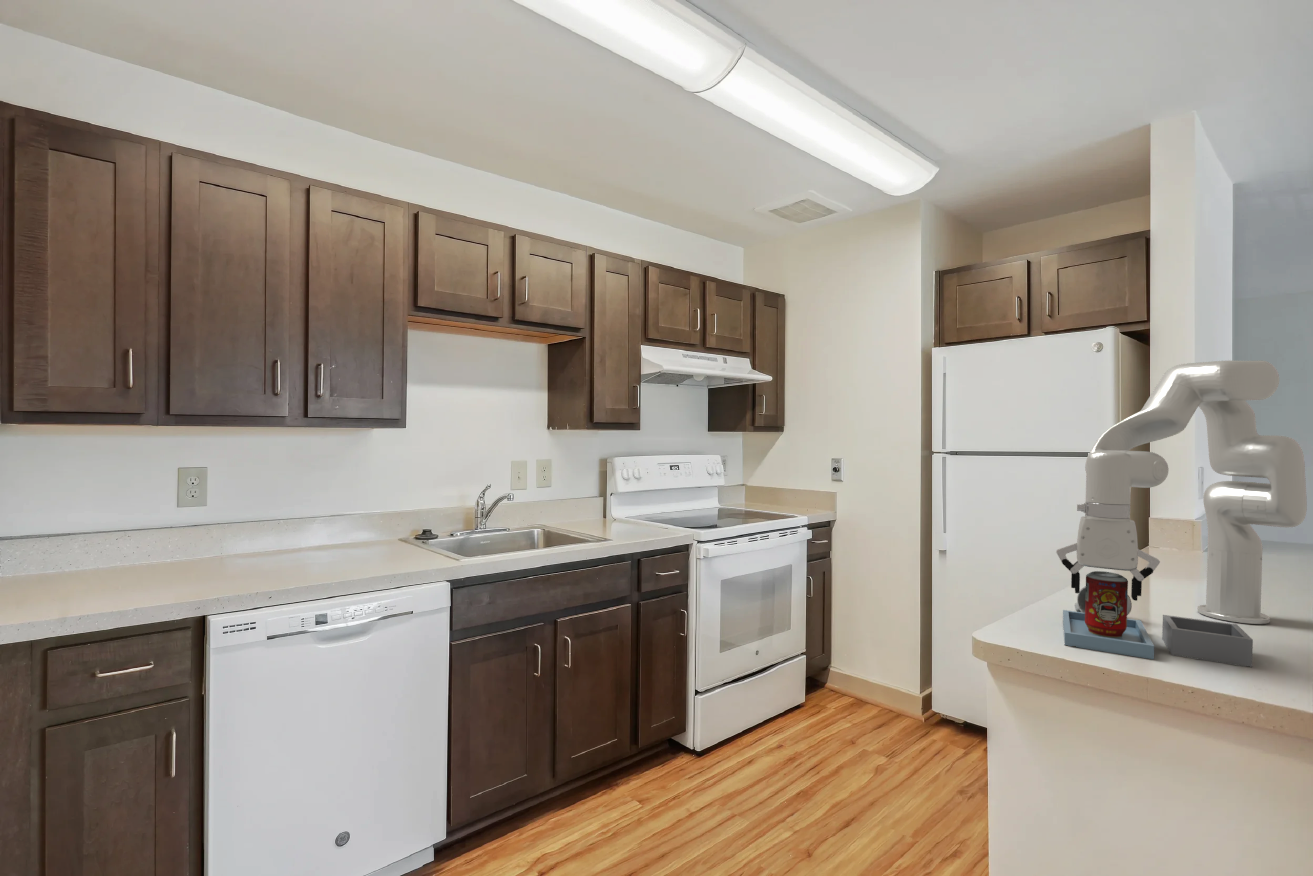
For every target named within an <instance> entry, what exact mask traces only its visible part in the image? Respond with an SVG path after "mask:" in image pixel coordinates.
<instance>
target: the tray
mask: <svg viewBox="0 0 1313 876" xmlns="http://www.w3.org/2000/svg"><path fill="white" fill-rule="evenodd" d="M1062 630H1064V631H1063V641H1064V643H1065V644H1064V646H1066V645H1068V647H1072V646H1076V647H1075V648H1079V649H1084V650H1085V649H1086V650H1091V651H1092V650H1093V651H1098V652H1099V651H1100V652H1105V653H1111V654H1116V655H1117V654H1118V655H1123V656H1130V657H1137V658H1144V659H1147V660H1148V659H1149V660H1154V659H1155V645H1154V643H1153V641H1152V640H1151V637H1150V635H1149V633H1148V631H1147V628H1146V627H1145V626H1144V624H1143V621H1142V620H1140V619H1134V618H1127V628H1126V630H1125V632H1124V633H1123V634H1122V637H1120V638H1109V637H1103V636H1098V635H1095V634H1092V633H1090V632H1089V630H1088V627H1087V625H1086V624H1085V613H1082V612H1081V611H1076V610H1075V611H1073V610H1067V609H1066V610H1065V609H1063V610H1062Z"/></svg>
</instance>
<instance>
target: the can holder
mask: <svg viewBox="0 0 1313 876" xmlns="http://www.w3.org/2000/svg"><path fill="white" fill-rule="evenodd" d="M1161 634H1162V635H1161V639H1162V641H1163V642H1164V645H1165V646H1166V648H1167V650H1168V651H1169V654H1170V655H1171V656H1177V657H1181V658H1182V657H1183V658H1189V659H1195V660H1201V661H1207V662H1216V663H1222V664H1227V665H1234V666H1240V665H1242V666H1241V667H1246V666H1250V667H1249V668H1253V648H1254V647H1253V643H1254V641H1253V638H1252V637H1250V636H1249V634H1248V633H1246V632H1245V630H1244V629H1242V628H1241V627H1240V626H1239V625H1238V624H1236V623H1230V622H1229V623H1228V622H1224V621H1223V622H1221V621H1215V620H1214V621H1212V620H1207V619H1205V620H1204V619H1198V618H1192V617H1191V618H1190V617H1183V616H1177V615H1176V616H1174V615H1168V614H1162V633H1161Z"/></svg>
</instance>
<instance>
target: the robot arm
mask: <svg viewBox="0 0 1313 876" xmlns="http://www.w3.org/2000/svg"><path fill="white" fill-rule="evenodd" d="M1279 385H1280V375H1279V372H1278V370H1277V368H1276V367H1275V366H1274V365H1273V363H1271V362H1268V361H1267V360H1216V361H1213V360H1212V361H1202V362H1188V363H1181V364H1177V365H1174V366H1171V367H1170V368H1168V370H1166V371H1165V372H1164V373H1163V375H1162V377H1161V378H1160V380H1159V381H1158V383H1157V384H1156V387H1154V389H1153V391H1152V393H1151V394H1150V396H1149V397H1148V398H1147V400H1146V402H1145V403H1144V405H1143V407H1142V408H1141V410H1140V411H1138V412H1135V413H1134V414H1132V415H1130V416H1128V417H1126V418H1124V419H1122V420H1121V421H1119V422H1117V423H1116V424H1114V425H1112V426H1111V427H1109V428H1108V429H1107V430H1106V431H1104V432H1103V433H1101V435H1100V436H1099V437H1098V439H1097V440H1096V442H1095V443H1094V445H1093V447H1092V448H1091V449H1090V452H1089V453H1088V455H1087V457H1086V460H1085V466H1084V468H1085V474H1086V475H1085V476H1086V477H1085V501H1084V503H1081V504H1076V511H1078V512H1082V513H1084V514H1085V515H1084V516H1081V517H1080V521H1079V525H1078V531H1077V538H1076V539H1077V540H1076V543H1072V544H1069V545H1067V546H1064V547H1061V548H1058V549H1056V552H1055V553H1056V554H1057V556H1058V558H1059V560H1060V562H1061V564H1062V565H1063V566H1064V567H1065V568H1066V569H1067V570H1068V571H1069V572H1070V573H1071V575H1070V576H1071V578H1070V579H1071V581H1070V582H1071V583H1070V588H1071V589H1074V593H1075V594H1078V593H1080V590H1081V589H1080V586H1081V583H1080V582H1081V574H1080V572H1079V571H1081V570H1082V569H1083V567H1086V568H1087V567H1089V568H1095V569H1097V568H1098V569H1106V570H1113V571H1114V570H1115V571H1127V572H1130V574H1132V575H1133V576H1132V578H1131V591H1130V592H1131V593H1130V598H1131V600H1133V601H1138V597H1142V587H1143V586H1142V585H1143V584H1142V583H1143V581H1144V580H1145V579H1146V578H1148V577H1149V576H1150V575H1153V573H1154V571H1156V568H1157V567H1158V566H1159V565H1160V563H1161V561H1160V560H1159V559H1158V558H1157V557H1154V556H1153V555H1151V554H1148V553H1147V552H1145V551H1143V550H1142V549H1139V547H1138V546H1139V544H1138V532H1137V527H1136V522H1135V520H1133V519H1131V491H1132V490H1131V489H1132V488H1141V489H1142V488H1143V489H1144V488H1145V489H1147V488H1155V487H1157V486H1159V485H1161V484H1163V483H1164V482H1165V480H1166V479H1167V477H1168V475H1169V465H1168V463H1167V461H1166V459H1165V458H1164V457H1163V456H1161V455H1160V454H1158V453H1155V452H1152V451H1146V450H1145V451H1144V450H1143V451H1142V450H1132V449H1134V448H1136V447H1138V446H1143V445H1144V444H1149V443H1153V442H1157V441H1160V440H1163V439H1167V438H1170V437H1173V436H1176V435H1177V434H1180V433H1182V432H1183V431H1184V430H1185V429H1186V427H1187V426H1188V425H1189V423H1190V421H1191V419H1192V417H1193V416H1194V414H1195V412H1196V411H1197V409H1198V408H1199V409H1200V410H1201V412H1202V414H1203V415H1204V418H1205V422H1206V432H1207V433H1206V434H1207V435H1206V436H1207V448H1208V458H1209V464H1210V467H1211V469H1212V470H1213V471H1214V473H1216V474H1220V475H1223V476H1229V477H1242V478H1259V479H1263V478H1264V479H1267V480H1268V481H1269V483H1267V482H1266V483H1263V482H1256V481H1255V482H1252V481H1239V480H1237V481H1236V480H1222V481H1217V482H1214V483H1212V484H1210V485H1208V486H1207V488H1206V489H1205V491H1204V493H1203V505H1204V506H1203V507H1204V511H1205V516H1206V522H1207V558H1206V563H1207V564H1206V595H1205V596H1206V597H1205V598H1206V599H1205V604H1201V605H1200V604H1199V605H1198V606H1197V610H1196V611H1197V612H1198V613H1199V614H1201V615H1203V616H1206V617H1209V618H1213V619H1217V620H1222V621H1228V622H1233V623H1241V624H1247V625H1248V624H1250V625H1251V624H1252V625H1265V624H1269V623H1270V621H1271V617H1270V616H1268V615H1267V614H1265V613H1262V611H1261V609H1262V585H1263V584H1262V581H1263V548H1264V547H1263V542H1262V539H1261V538H1260V535H1258V533H1257V531H1255V529H1254V528H1253V527H1252V525H1256V526H1257V525H1258V526H1266V527H1274V528H1296V527H1299V525H1301V524H1302V523H1303V522H1304V521H1305V519H1306V515H1307V510H1308V504H1307V503H1308V501H1307V500H1308V499H1307V481H1306V464H1305V463H1306V462H1305V456H1304V452H1303V449H1302V447H1301V445H1300V444H1299V442H1298V441H1297V440H1295V439H1293V438H1292V437H1289V436H1286V435H1273V434H1271V435H1264V434H1263V435H1260V434H1259V433H1258V431H1257V424H1256V423H1257V421H1256V414H1255V411H1254V409H1253V408H1252V407H1251V404H1249V402H1247V401H1263V400H1266V399H1268V398H1270V397H1272V396H1273V395H1274V393H1275V392H1276V391H1277V390H1278V387H1279ZM1075 551H1076V561H1075V562H1074V563H1072V561H1070V560H1069V559H1068V558H1067V554H1070V553H1072V552H1075ZM1139 558H1141V559H1142V560H1144V561H1146V562H1148V564H1147V565H1146V566H1145V567H1144V568H1142V569H1141V570H1138V564H1139Z"/></svg>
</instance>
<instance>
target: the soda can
mask: <svg viewBox="0 0 1313 876" xmlns="http://www.w3.org/2000/svg"><path fill="white" fill-rule="evenodd" d="M1085 586H1086V592H1085V624H1086V625H1087V627H1088V630H1089V632H1090V633H1092V634H1095V635H1098V636H1103V637H1109V638H1120V637H1122V634H1123V633H1124V632H1125V630H1126V628H1127V619H1128V615H1127V595H1129V593H1128V591H1129V590H1128V588H1129V581H1128V578H1126V577H1125V576H1124V575H1122V574H1119V573H1115V572H1111V571H1102V570H1101V571H1100V570H1099V571H1098V570H1096V571H1095V570H1094V571H1090V572H1089V573H1086V574H1085Z"/></svg>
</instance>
